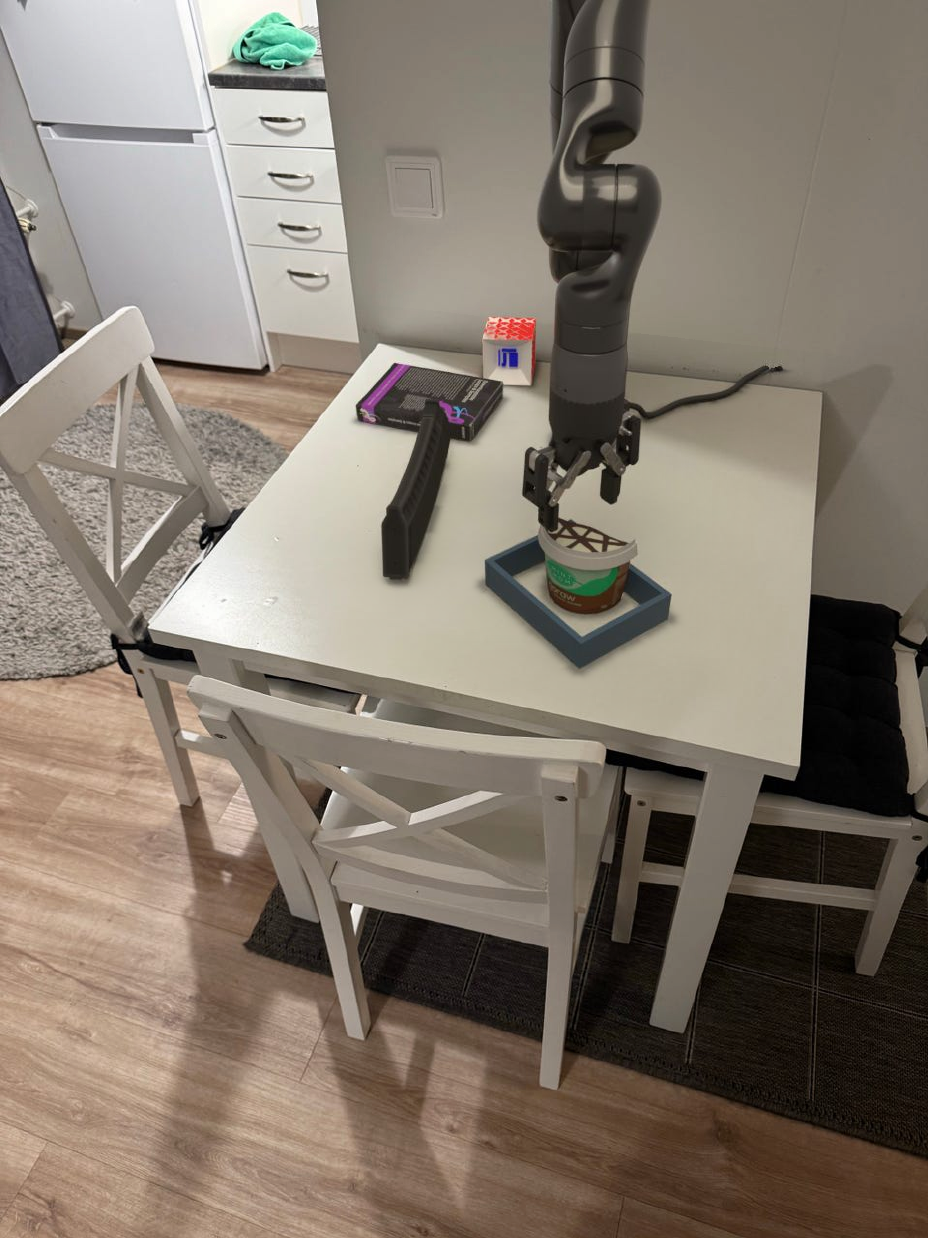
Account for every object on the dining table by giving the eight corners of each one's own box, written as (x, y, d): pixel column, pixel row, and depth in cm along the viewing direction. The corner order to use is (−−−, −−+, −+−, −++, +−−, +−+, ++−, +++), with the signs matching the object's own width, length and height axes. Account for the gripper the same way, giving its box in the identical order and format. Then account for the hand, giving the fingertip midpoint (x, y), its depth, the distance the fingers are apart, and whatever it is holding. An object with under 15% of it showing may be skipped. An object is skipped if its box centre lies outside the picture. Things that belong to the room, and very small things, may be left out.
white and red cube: (535, 362, 155) (536, 318, 149) (531, 385, 149) (532, 340, 144) (488, 361, 156) (487, 316, 150) (483, 383, 150) (481, 338, 145)
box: (357, 423, 143) (471, 444, 137) (354, 403, 141) (470, 423, 134) (396, 381, 152) (504, 398, 146) (393, 361, 150) (504, 378, 143)
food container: (517, 597, 111) (517, 532, 104) (543, 570, 115) (545, 505, 108) (607, 635, 106) (613, 569, 99) (631, 605, 109) (639, 539, 102)
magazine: (398, 542, 105) (440, 356, 120) (371, 540, 106) (416, 355, 120) (417, 617, 120) (452, 442, 135) (393, 615, 120) (431, 441, 135)
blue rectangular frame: (569, 543, 118) (571, 518, 116) (667, 619, 107) (672, 593, 105) (485, 584, 113) (484, 559, 110) (579, 669, 102) (580, 643, 99)
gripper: (555, 419, 85) (550, 555, 96) (667, 373, 91) (650, 507, 102) (507, 388, 90) (507, 521, 101) (616, 347, 95) (605, 477, 106)
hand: (579, 514), depth 101 cm, fingers open, 8 cm apart
